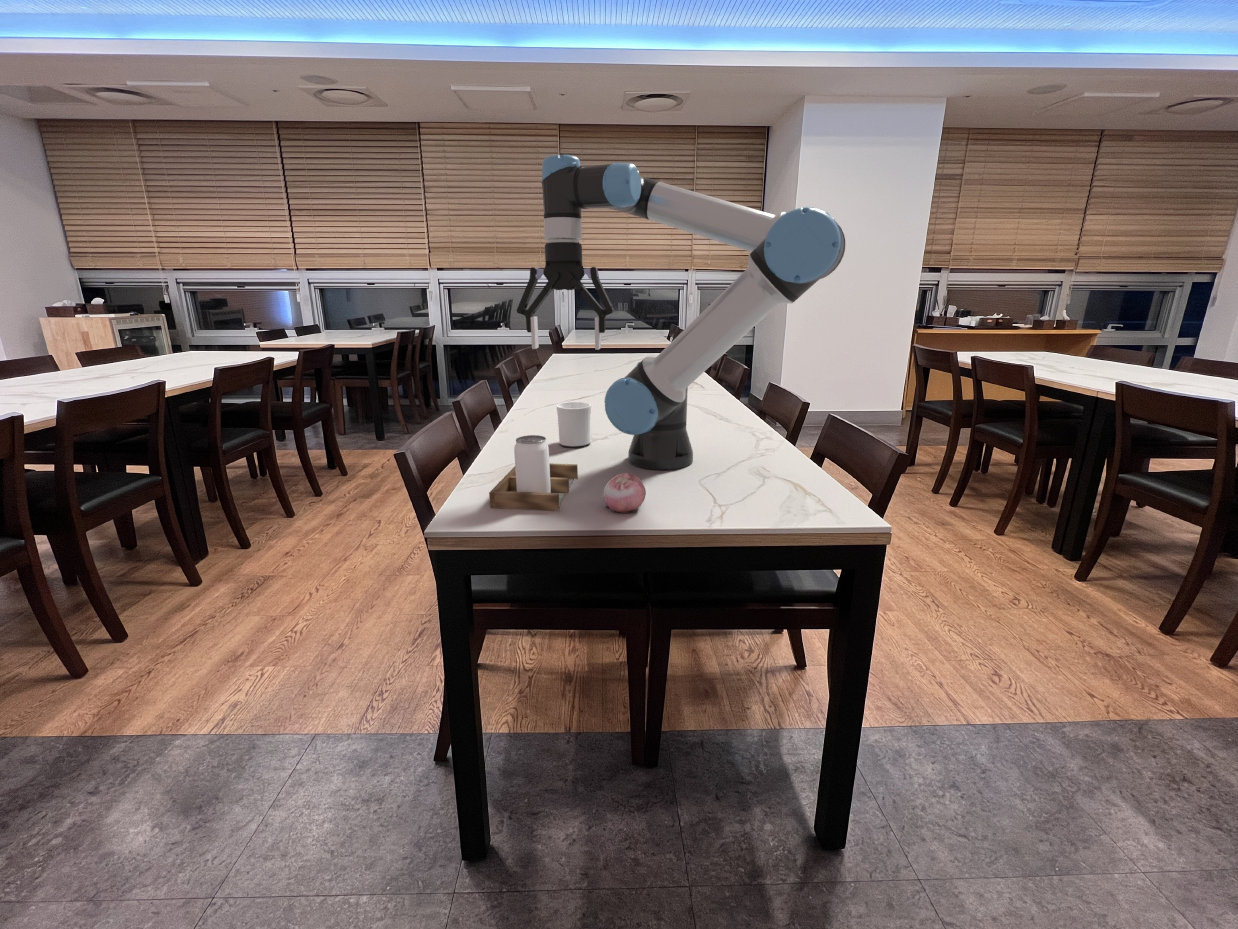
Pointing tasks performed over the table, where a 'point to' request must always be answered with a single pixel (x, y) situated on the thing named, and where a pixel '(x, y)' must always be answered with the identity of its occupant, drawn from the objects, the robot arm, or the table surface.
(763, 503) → the table surface
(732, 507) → the table surface
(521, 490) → the can
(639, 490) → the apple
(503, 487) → the comb rack
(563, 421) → the mug
